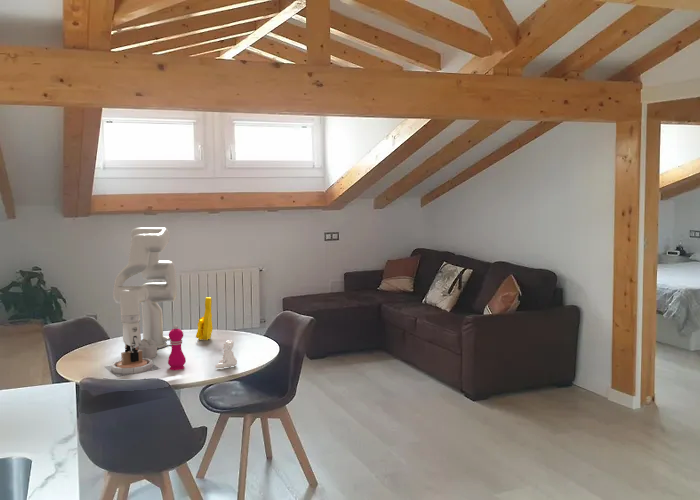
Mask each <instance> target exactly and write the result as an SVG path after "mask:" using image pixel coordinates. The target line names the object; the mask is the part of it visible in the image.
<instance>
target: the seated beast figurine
mask: <svg viewBox="0 0 700 500" xmlns="http://www.w3.org/2000/svg"><path fill="white" fill-rule="evenodd" d="M234 344H235V341H234V340H229V339H227V340H225V343H224V344H223V347H222V349H223V354H222V359H221V360H219V362H218V364H215V369H216V368H224V367H231V366H235V365H236V366H237V364H238V361H237V358H236V357H235V355H234V351H233V348H234ZM236 366H235V367H236Z"/></svg>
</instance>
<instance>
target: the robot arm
mask: <svg viewBox="0 0 700 500" xmlns="http://www.w3.org/2000/svg"><path fill="white" fill-rule="evenodd" d="M130 232H131V233H130V237H131V239H130V248H129V253H128V254H129V255H128V263H127V265H125V266H124V267H123V268H122V269H121V270H120V271H119V272H118V274H117V275H116V277H115V279H114V284H113V285H114V286H113V292H112V298H113V301H114V302H115V303H116V304H119V305H120V323H121V324H122V341H123V343H124V350H125V351H124V352H128V351H131V353H130V355H131V362H137V361H139V354H138V352H139V350H138V349H139V345H141V340H142V339H147V340H148V339H152V340H153V341H156V343H157V350H158V349H163V348H165V347H167V345H168V343H167V342H168V341H169V342H170V341H171V339H170V338H169V335H168V336H165V335H164V325H163V324H164V323H163V322H164V321H163V320H164V319H163V318H164V317H163V316H164V315H163V310H162V307H161V306H160V305H159V303H172V302H174V301H176V299H177V296H178V289H177V288H178V286H177V272H176V265H175V263H174V262H173V261H171V260H160V253H162V252H164V250H165V249H166V247H167V246H168V244H169V242H170V238H171V235H170V231H169V230H168V228H167V227H147V226H146V227H144V226H143V227H135V228H133V229H132V230H131V231H130ZM140 273H141V277H142V278H143V280H146V281H165V282H146V283H143V284H142V285H124V284H125V282H126V281H127V280H128V279H129V278H131V277H133V276H135V275H138V274H140ZM140 304H141V312H140ZM140 313H141V317H140ZM141 318H142V333H141V327H140V326H141V325H140V321H141ZM141 334H142V336H141ZM132 344H135V345H132ZM133 347H134V348H133Z"/></svg>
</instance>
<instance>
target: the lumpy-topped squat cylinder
mask: <svg viewBox="0 0 700 500" xmlns="http://www.w3.org/2000/svg"><path fill="white" fill-rule="evenodd" d="M132 345H135V344H132ZM133 348H134V347H133ZM138 350H142V358H147V359H151V360H152V359H153V358H155V357H157V355H158V349H157V343H156V341H153V340H152V339H148V340H147V339H143V338H141V345H139V349H138Z"/></svg>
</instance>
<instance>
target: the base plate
mask: <svg viewBox="0 0 700 500" xmlns="http://www.w3.org/2000/svg"><path fill="white" fill-rule="evenodd" d="M142 360H146V361H147V364H146V365H144V366H140V367H134V368H120V367H117V364H118V363H119V362H122V359H119V360H116V361H114V362H112V363H111V364H110V365H107V366H104V369H106V370H108V371H109V372H110V373H112V374H113V375H115V377H117V378H119V377H125V376H129V375H131V376H132V375H135V374H141V373H145V372H146V373H147V372H152V371H156V370H161V368H160V367H158V365H155V364H154V360H153V359H152V358H151V359H147V358H142Z"/></svg>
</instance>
